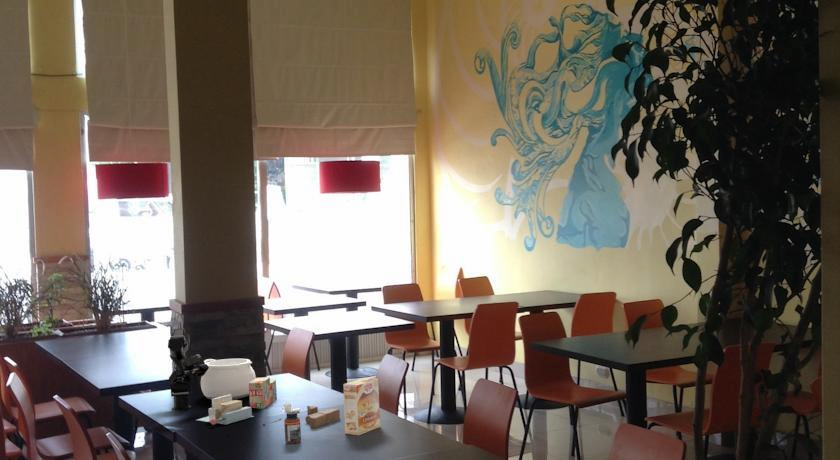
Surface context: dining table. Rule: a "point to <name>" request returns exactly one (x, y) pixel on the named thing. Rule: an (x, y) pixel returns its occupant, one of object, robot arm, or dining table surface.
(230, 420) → the pale blue base plate
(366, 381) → the coffeecake box
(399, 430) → the dining table surface
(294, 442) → the supplement bottle
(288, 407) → the teacup and saucer
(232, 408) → the beech block
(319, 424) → the wooden block set
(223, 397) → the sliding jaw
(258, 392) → the stack of blocks
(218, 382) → the pot
